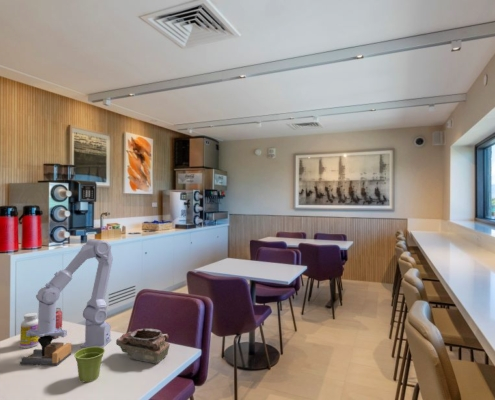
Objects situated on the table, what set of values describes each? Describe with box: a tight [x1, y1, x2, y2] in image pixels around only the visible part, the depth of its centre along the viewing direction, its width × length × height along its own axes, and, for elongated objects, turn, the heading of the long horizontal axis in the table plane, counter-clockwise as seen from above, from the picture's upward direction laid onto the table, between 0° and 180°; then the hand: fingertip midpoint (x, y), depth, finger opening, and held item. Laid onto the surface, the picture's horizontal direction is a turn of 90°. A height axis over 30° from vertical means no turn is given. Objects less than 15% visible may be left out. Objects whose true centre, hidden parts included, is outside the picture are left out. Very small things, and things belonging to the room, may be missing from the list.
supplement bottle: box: [19, 312, 40, 349], centre depth 136 cm, size 7×7×13 cm
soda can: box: [53, 307, 63, 339], centre depth 145 cm, size 7×7×12 cm
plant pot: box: [73, 347, 106, 383], centre depth 111 cm, size 9×9×9 cm
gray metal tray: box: [19, 348, 72, 367], centre depth 123 cm, size 14×9×2 cm, turn 88°
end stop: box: [52, 342, 72, 363], centre depth 123 cm, size 2×9×4 cm, turn 178°
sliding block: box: [44, 341, 65, 357], centre depth 123 cm, size 4×5×5 cm
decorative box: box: [115, 328, 171, 365], centre depth 125 cm, size 13×20×10 cm, turn 66°
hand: (46, 355), depth 123 cm, fingers closed
